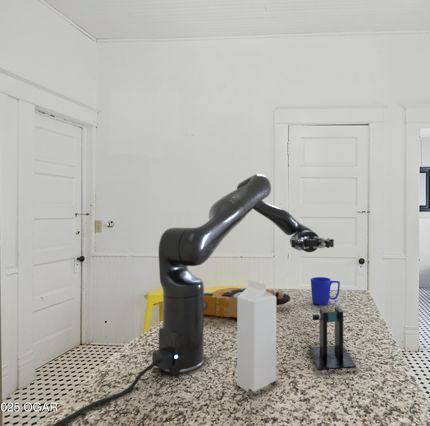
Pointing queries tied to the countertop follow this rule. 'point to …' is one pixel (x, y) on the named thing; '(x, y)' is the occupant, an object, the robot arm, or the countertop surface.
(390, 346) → the countertop surface
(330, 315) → the lever
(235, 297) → the device
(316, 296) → the mug
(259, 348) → the milk
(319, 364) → the bracket
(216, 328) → the countertop surface
